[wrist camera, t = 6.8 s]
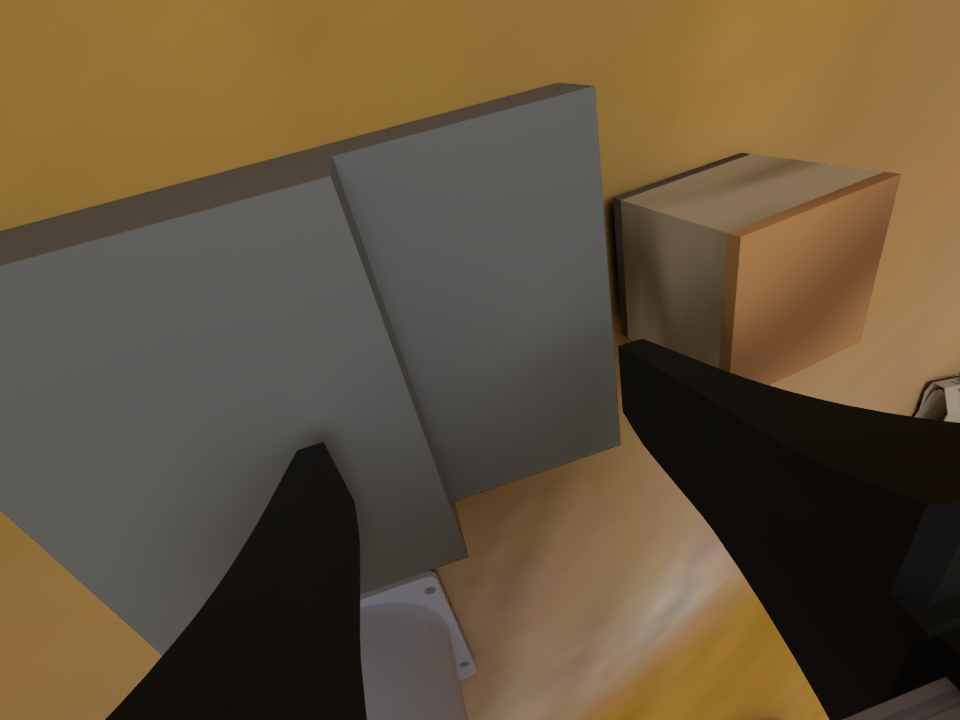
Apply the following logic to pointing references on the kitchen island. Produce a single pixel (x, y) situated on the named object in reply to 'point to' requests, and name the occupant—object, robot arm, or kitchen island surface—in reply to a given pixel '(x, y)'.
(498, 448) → the slate step stand
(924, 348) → the kitchen island surface
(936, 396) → the newspaper
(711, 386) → the robot arm
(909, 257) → the kitchen island surface
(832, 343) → the maple cube
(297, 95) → the kitchen island surface
